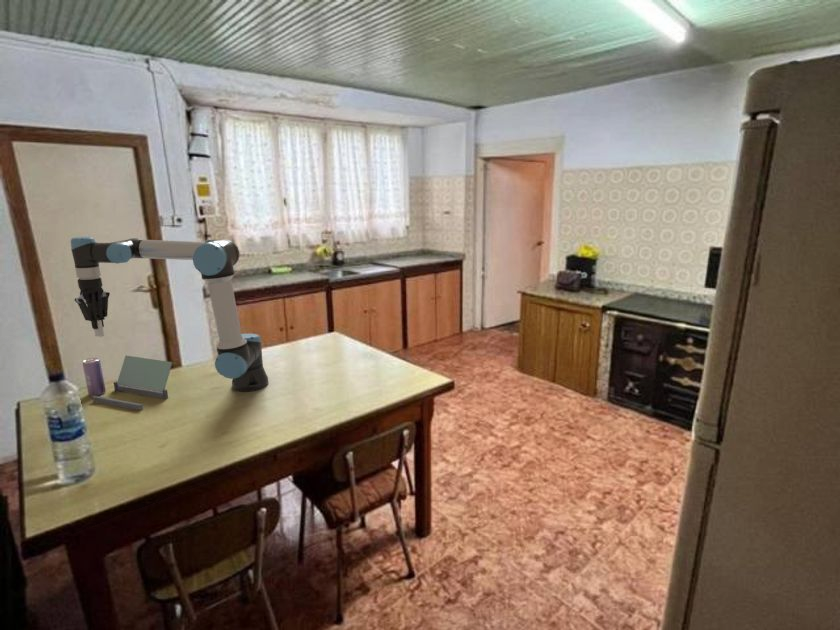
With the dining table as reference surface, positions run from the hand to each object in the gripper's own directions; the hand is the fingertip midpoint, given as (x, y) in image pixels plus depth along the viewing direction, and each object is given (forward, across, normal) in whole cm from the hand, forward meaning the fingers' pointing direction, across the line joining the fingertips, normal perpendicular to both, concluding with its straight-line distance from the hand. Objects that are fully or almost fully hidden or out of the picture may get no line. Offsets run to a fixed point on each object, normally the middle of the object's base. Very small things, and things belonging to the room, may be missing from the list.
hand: (99, 335), depth 181 cm
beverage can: (+27, 0, -8) cm, 28 cm away
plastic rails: (+26, 0, +10) cm, 28 cm away
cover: (+18, -8, +10) cm, 22 cm away
